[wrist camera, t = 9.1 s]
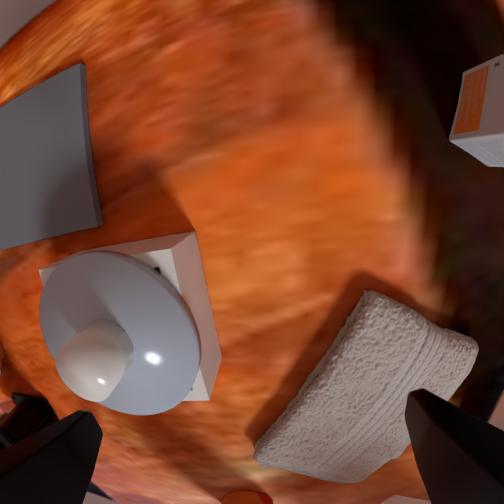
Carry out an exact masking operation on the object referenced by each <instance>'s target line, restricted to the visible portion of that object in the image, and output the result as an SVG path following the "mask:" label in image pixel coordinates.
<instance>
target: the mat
mask: <svg viewBox="0 0 504 504" xmlns="http://www.w3.org/2000/svg"><path fill="white" fill-rule="evenodd" d="M101 225H103V220H102V215H101V209H100V204H99V198H98V192H97V186H96V179H95V173H94V165H93V158H92V150H91V141H90V131H89V120H88V106H87V88H86V66H85V65H83V64H81V63H79V64H77V65H75V66H73V67H71V68H68V69H66V70H64V71H62V72H60V73H59V74H57V75H55V76H53V77H51V78H49V79H47V80H45V81H44V82H42V83H40V84H38V85H36V86H35V87H33V88H31V89H29V90H28V91H26V92H24V93H23V94H21V95H20V96H18V97H16V98H15V99H13V100H12V101H10V102H8V103H7V104H5V105H4V106H2V107H1V108H0V250H3V249H7V248H11V247H15V246H18V245H22V244H26V243H30V242H34V241H38V240H42V239H46V238H50V237H54V236H58V235H63V234H67V233H71V232H75V231H80V230H84V229H89V228H93V227H98V226H101Z"/></svg>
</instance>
